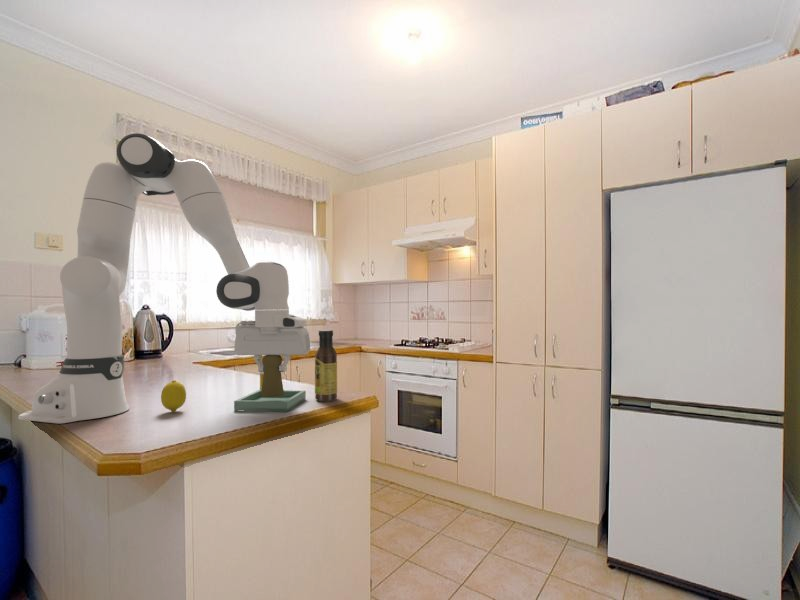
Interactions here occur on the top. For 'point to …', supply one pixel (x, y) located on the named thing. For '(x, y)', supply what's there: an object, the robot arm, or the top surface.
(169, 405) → the lemon
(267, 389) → the cork
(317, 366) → the sauce bottle
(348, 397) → the top surface
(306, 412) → the top surface
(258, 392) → the tray
